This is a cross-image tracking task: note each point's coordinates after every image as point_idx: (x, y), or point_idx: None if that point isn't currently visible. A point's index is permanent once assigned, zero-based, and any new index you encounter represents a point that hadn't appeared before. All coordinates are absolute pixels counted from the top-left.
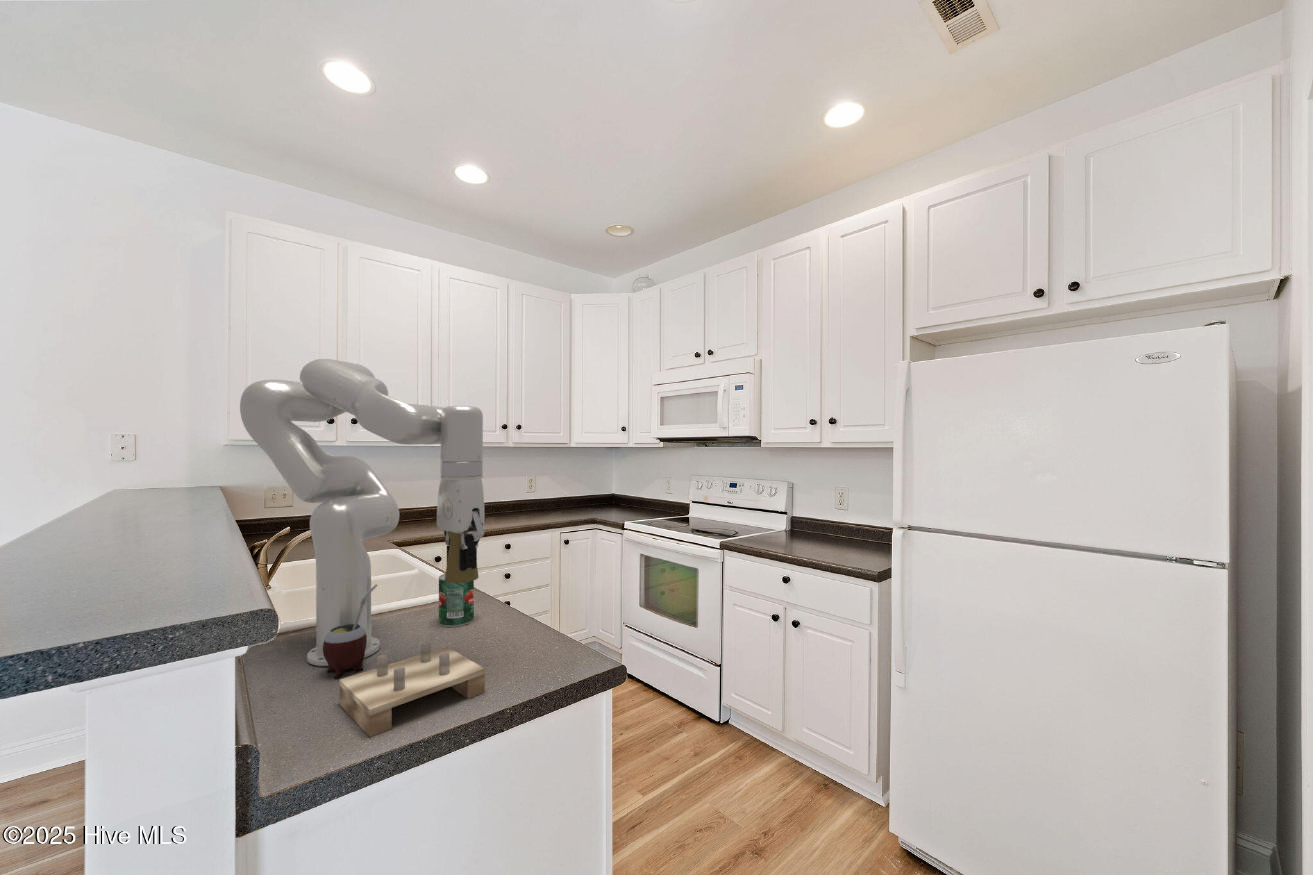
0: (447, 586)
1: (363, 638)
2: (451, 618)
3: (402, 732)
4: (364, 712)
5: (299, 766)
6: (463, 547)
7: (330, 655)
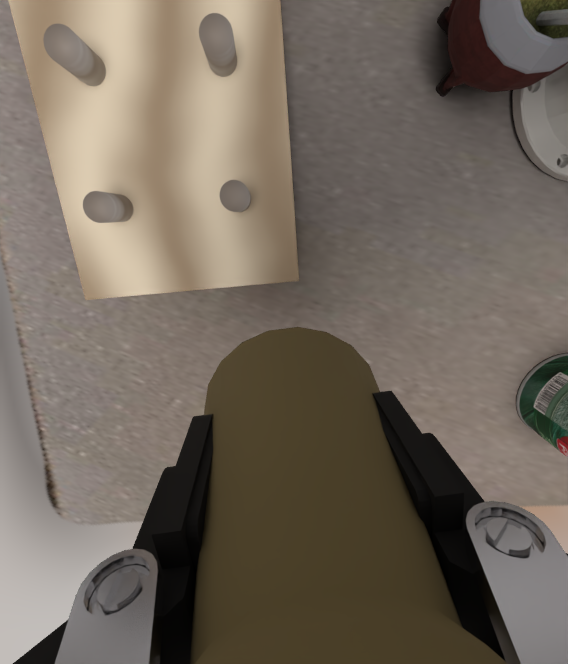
0: None
1: (486, 57)
2: (548, 380)
3: (23, 69)
4: None
5: None
6: (132, 573)
7: None
